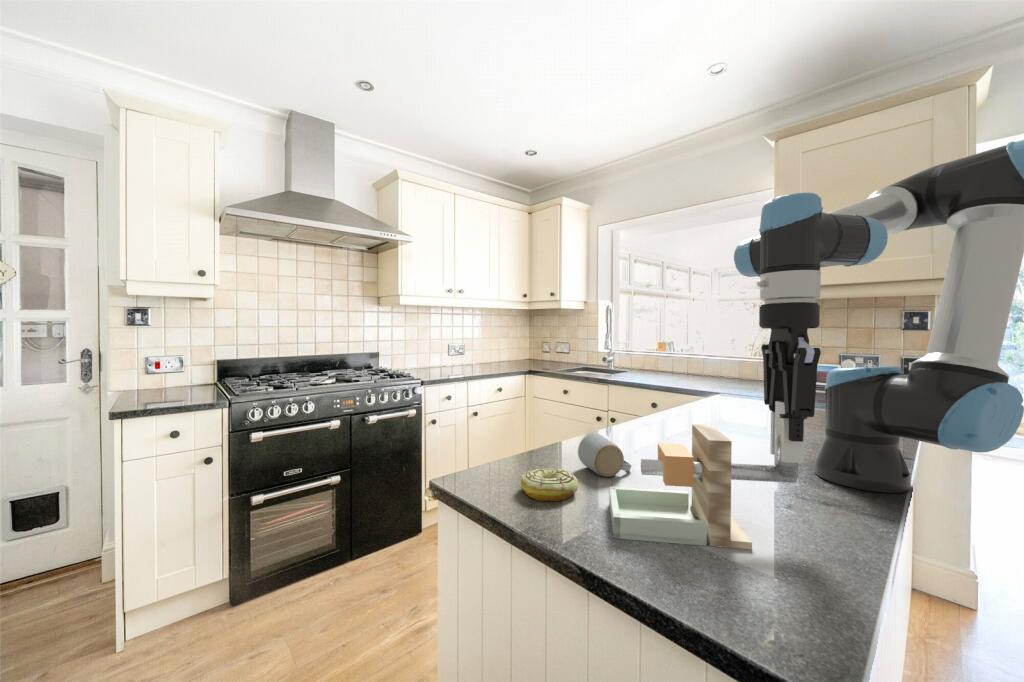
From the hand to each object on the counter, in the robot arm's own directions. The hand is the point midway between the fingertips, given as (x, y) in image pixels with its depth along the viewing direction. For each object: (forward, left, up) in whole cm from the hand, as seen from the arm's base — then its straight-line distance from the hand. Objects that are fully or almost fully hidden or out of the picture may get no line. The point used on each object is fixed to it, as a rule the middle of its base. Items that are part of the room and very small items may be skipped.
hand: (786, 457), depth 63 cm
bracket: (+10, 0, -12) cm, 15 cm away
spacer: (+16, 0, -4) cm, 17 cm away
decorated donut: (+37, -10, -12) cm, 40 cm away
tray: (+19, 0, -12) cm, 22 cm away
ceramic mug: (+26, -24, -12) cm, 37 cm away
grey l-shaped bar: (+10, 0, -4) cm, 10 cm away
